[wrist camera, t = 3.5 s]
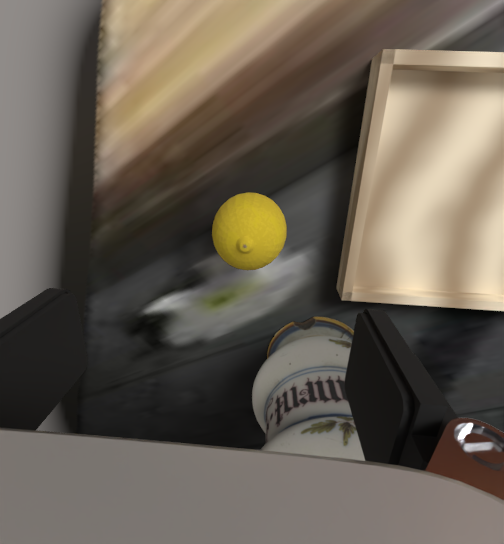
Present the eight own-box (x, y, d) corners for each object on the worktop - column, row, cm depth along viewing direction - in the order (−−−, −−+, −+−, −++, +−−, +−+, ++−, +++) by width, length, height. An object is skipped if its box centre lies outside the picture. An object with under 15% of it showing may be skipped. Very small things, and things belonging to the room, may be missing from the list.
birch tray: (670, 67, 21) (718, 58, 19) (561, 302, 28) (586, 316, 26) (372, 58, 22) (383, 49, 20) (336, 287, 29) (341, 300, 27)
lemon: (298, 217, 27) (307, 244, 20) (255, 261, 29) (248, 301, 21) (250, 172, 26) (240, 183, 18) (208, 221, 28) (184, 248, 20)
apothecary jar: (354, 288, 29) (459, 480, 12) (389, 385, 33) (504, 630, 16) (237, 329, 32) (194, 533, 15) (281, 414, 35) (286, 653, 19)
